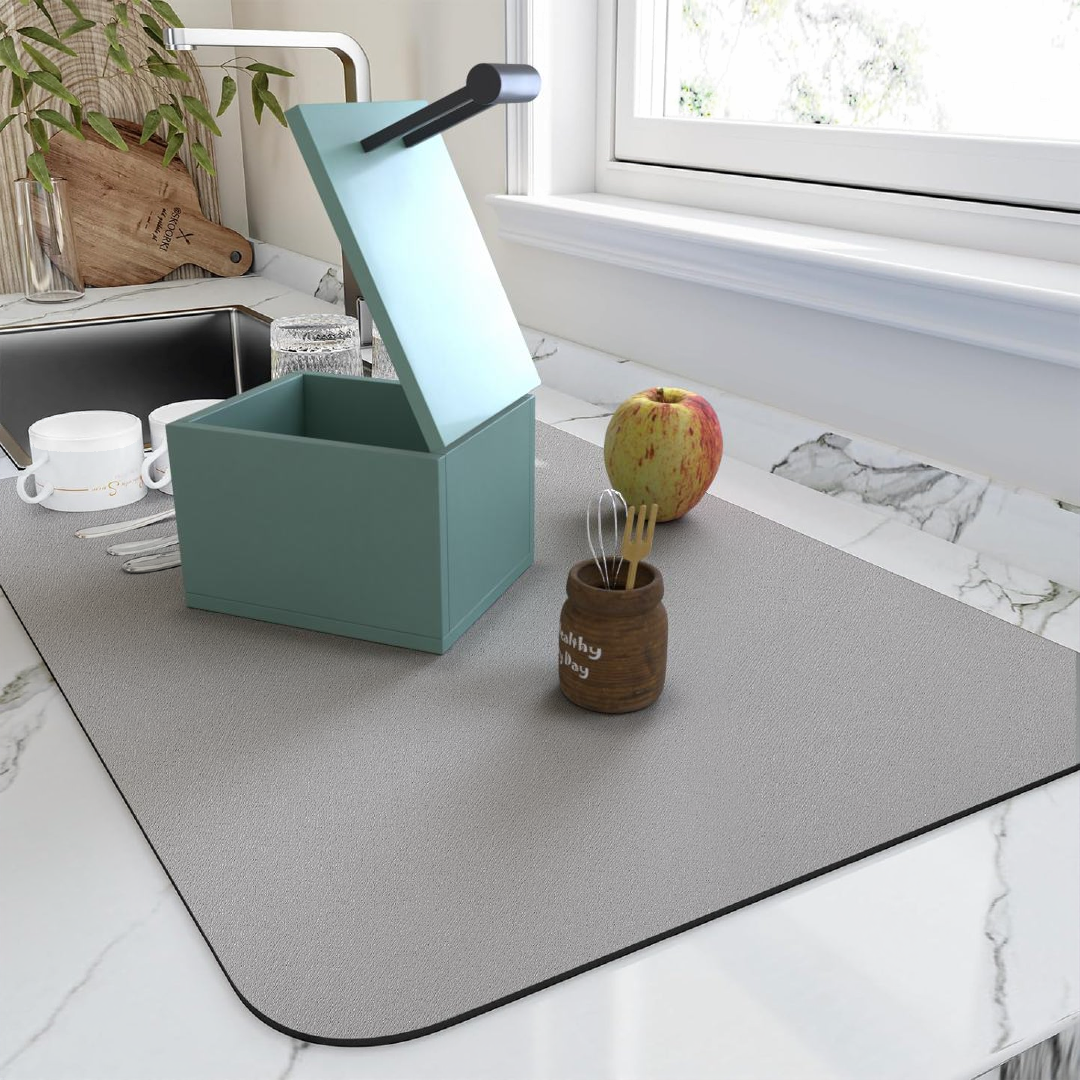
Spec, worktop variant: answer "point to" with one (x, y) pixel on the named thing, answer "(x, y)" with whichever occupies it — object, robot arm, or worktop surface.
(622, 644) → the utensil holder
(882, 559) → the worktop surface
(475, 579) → the teal storage box
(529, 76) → the lid
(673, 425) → the apple
